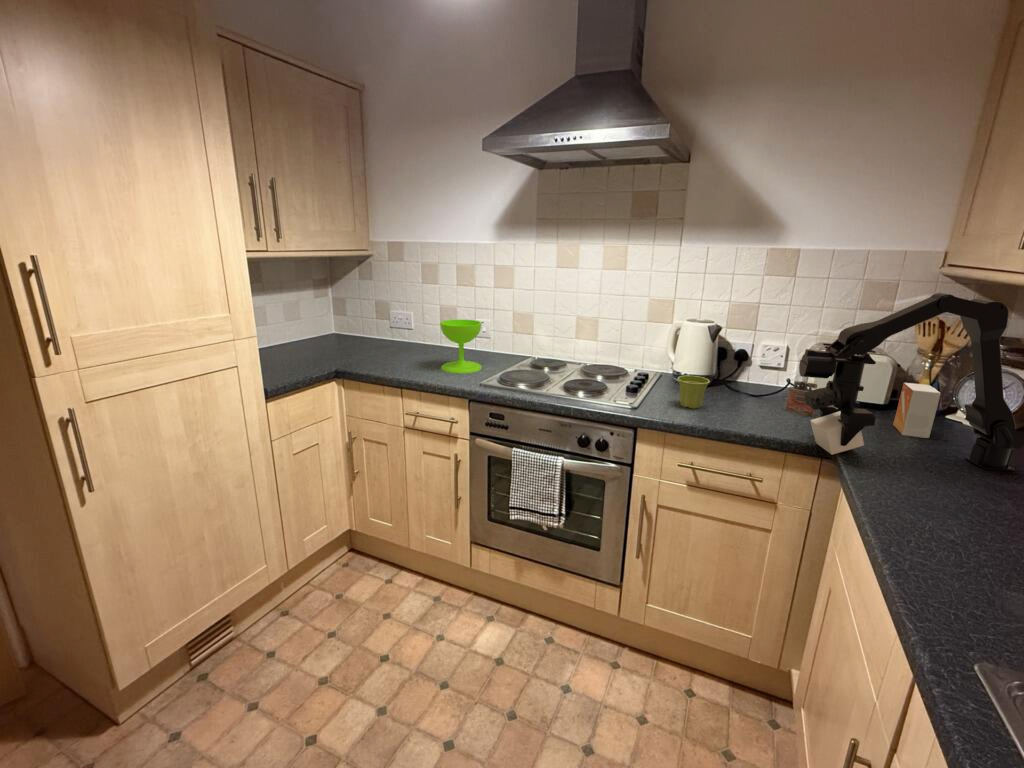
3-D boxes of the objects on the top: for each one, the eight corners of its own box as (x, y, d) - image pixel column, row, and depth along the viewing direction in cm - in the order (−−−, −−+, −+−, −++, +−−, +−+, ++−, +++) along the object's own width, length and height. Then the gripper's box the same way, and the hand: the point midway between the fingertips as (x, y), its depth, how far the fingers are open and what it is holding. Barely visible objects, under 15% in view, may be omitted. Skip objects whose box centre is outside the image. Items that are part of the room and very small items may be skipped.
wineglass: (489, 366, 202) (489, 322, 197) (465, 375, 189) (464, 327, 184) (457, 361, 210) (457, 318, 205) (432, 369, 197) (431, 323, 192)
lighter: (783, 410, 156) (789, 379, 153) (786, 408, 158) (792, 377, 155) (812, 417, 151) (818, 385, 148) (815, 414, 153) (821, 383, 150)
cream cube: (846, 433, 131) (841, 410, 129) (864, 445, 123) (858, 421, 122) (815, 442, 132) (810, 420, 130) (831, 454, 124) (826, 431, 123)
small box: (892, 425, 145) (903, 382, 142) (919, 428, 143) (930, 384, 139) (901, 435, 138) (912, 389, 134) (929, 438, 136) (942, 392, 132)
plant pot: (684, 411, 154) (687, 384, 151) (669, 401, 163) (672, 375, 160) (712, 409, 156) (715, 382, 153) (695, 400, 165) (698, 374, 162)
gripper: (794, 369, 132) (784, 424, 137) (833, 389, 114) (820, 453, 119) (838, 370, 132) (827, 426, 136) (884, 391, 114) (869, 455, 118)
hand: (834, 439), depth 127 cm, fingers closed on cream cube, 8 cm apart
